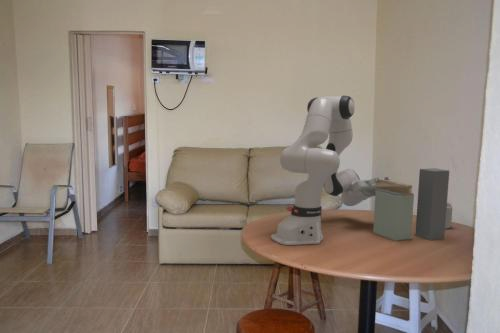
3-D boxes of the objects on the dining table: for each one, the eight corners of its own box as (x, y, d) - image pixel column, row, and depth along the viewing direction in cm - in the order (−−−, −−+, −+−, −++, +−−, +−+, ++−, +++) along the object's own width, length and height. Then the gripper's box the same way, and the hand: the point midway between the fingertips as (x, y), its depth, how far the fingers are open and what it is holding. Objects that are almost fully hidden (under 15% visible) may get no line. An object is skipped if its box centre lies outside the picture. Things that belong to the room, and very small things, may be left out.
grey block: (395, 240, 190) (398, 194, 187) (373, 232, 202) (375, 189, 200) (411, 238, 193) (414, 193, 191) (388, 230, 206) (391, 188, 203)
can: (453, 229, 210) (455, 204, 209) (437, 229, 211) (439, 204, 209) (446, 225, 218) (448, 201, 216) (431, 225, 218) (433, 201, 217)
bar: (407, 195, 187) (407, 185, 186) (375, 187, 205) (375, 178, 204) (411, 194, 188) (412, 185, 187) (379, 187, 206) (379, 178, 205)
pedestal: (429, 240, 192) (434, 171, 188) (415, 235, 199) (419, 169, 195) (444, 237, 196) (449, 170, 192) (430, 233, 203) (434, 168, 199)
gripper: (345, 184, 210) (362, 173, 198) (379, 182, 219) (397, 171, 207) (349, 196, 208) (366, 186, 196) (383, 194, 216) (401, 184, 205)
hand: (382, 178), depth 202 cm, fingers open, 5 cm apart
